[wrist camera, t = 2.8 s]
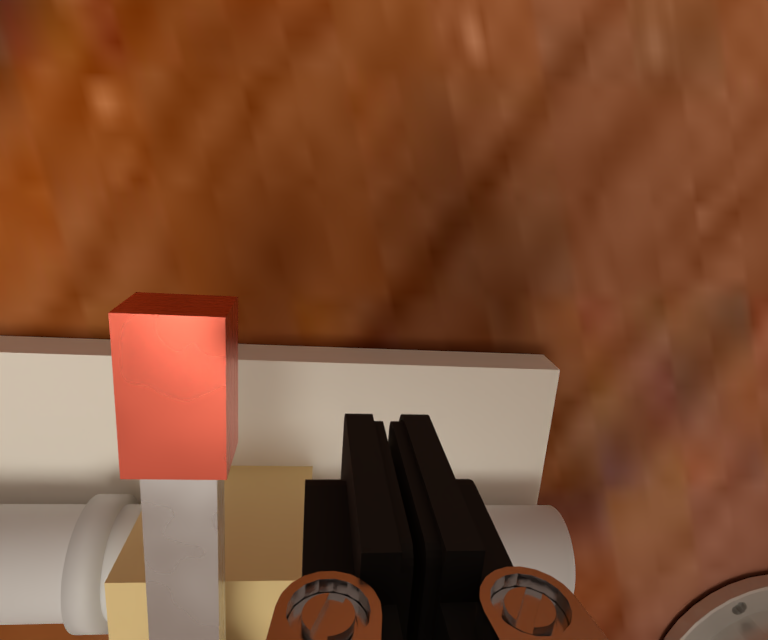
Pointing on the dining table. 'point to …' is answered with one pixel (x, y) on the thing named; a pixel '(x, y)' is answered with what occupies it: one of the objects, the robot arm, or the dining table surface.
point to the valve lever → (178, 448)
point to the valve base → (278, 413)
